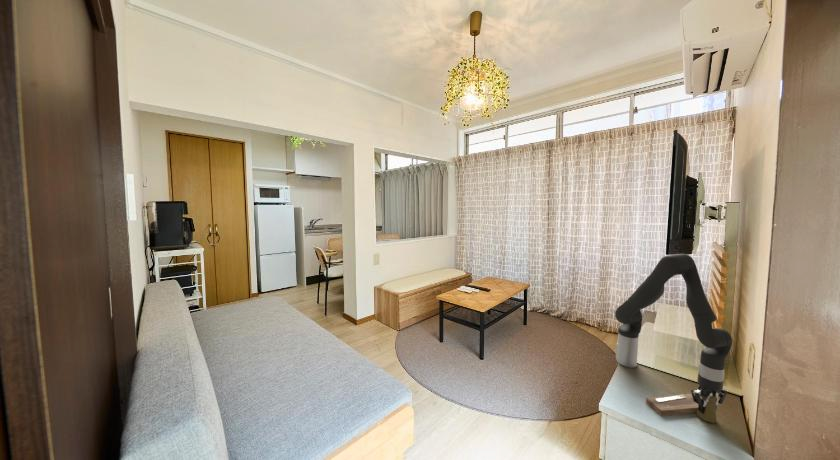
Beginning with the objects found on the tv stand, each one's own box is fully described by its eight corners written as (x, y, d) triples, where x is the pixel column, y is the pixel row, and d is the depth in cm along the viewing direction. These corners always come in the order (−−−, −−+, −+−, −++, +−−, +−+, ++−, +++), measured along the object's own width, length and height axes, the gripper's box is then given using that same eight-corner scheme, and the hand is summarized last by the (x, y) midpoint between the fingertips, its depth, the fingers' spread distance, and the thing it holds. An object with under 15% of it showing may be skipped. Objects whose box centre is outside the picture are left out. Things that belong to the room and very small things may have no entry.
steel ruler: (655, 399, 131) (655, 398, 131) (682, 395, 132) (682, 394, 132) (658, 402, 129) (659, 401, 129) (686, 398, 131) (686, 397, 131)
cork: (696, 417, 122) (698, 393, 121) (696, 409, 126) (699, 386, 125) (716, 424, 118) (719, 400, 116) (716, 416, 122) (719, 392, 120)
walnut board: (645, 402, 133) (646, 397, 132) (691, 398, 134) (691, 393, 133) (661, 415, 125) (661, 410, 124) (709, 411, 126) (709, 406, 125)
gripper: (717, 368, 123) (713, 404, 126) (685, 370, 123) (682, 407, 125) (737, 379, 116) (732, 417, 118) (704, 382, 115) (700, 420, 118)
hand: (706, 411), depth 122 cm, fingers closed on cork, 4 cm apart
